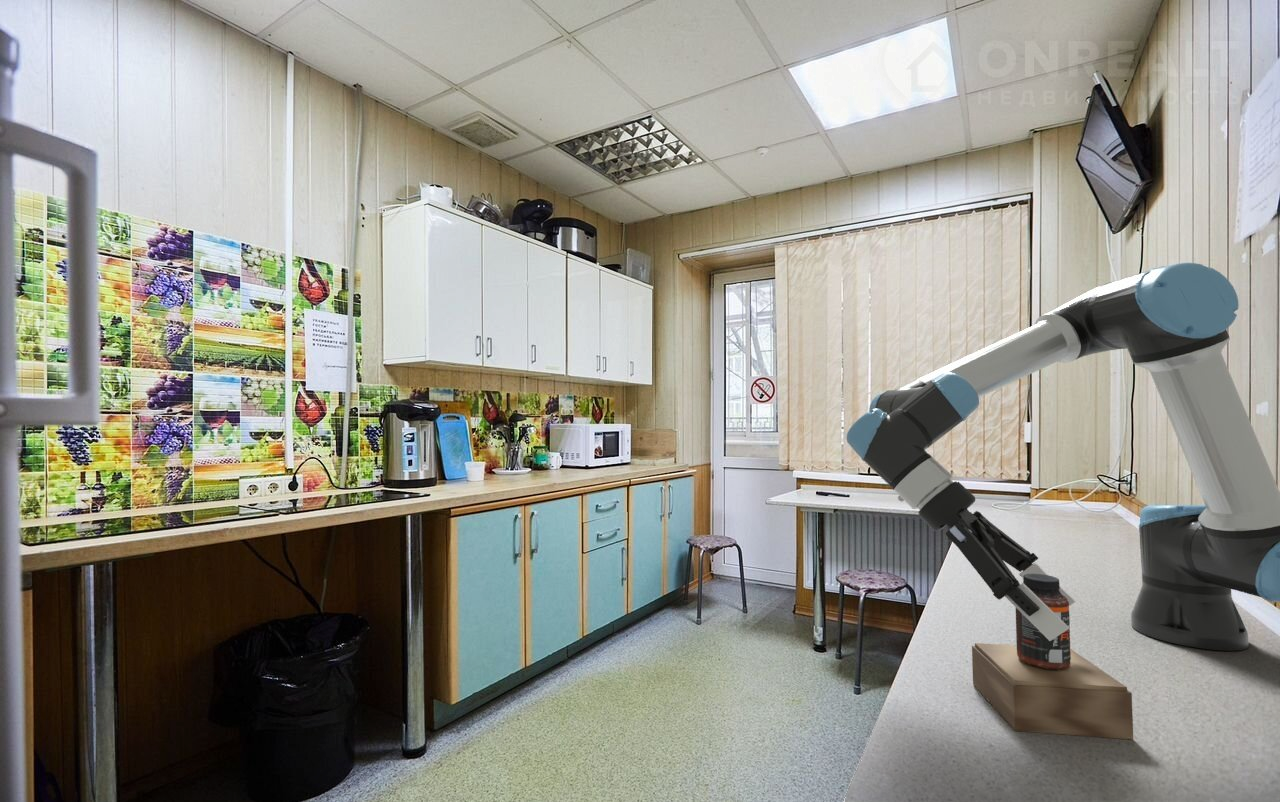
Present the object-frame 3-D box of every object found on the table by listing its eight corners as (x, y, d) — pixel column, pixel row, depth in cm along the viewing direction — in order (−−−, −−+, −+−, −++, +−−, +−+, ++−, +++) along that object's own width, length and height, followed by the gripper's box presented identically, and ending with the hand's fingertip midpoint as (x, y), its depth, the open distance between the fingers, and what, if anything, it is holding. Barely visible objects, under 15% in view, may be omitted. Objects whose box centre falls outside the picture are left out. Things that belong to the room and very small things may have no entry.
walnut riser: (1071, 690, 82) (1070, 647, 83) (1133, 739, 70) (1131, 688, 70) (972, 684, 85) (971, 642, 85) (1014, 730, 72) (1013, 681, 72)
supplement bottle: (1073, 675, 73) (1070, 585, 74) (1017, 665, 77) (1014, 579, 77) (1068, 659, 79) (1066, 574, 79) (1016, 650, 82) (1014, 569, 82)
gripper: (936, 503, 97) (1048, 611, 87) (891, 523, 78) (1028, 665, 68) (971, 472, 94) (1092, 582, 84) (933, 486, 75) (1083, 630, 65)
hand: (1064, 619), depth 76 cm, fingers open, 13 cm apart
